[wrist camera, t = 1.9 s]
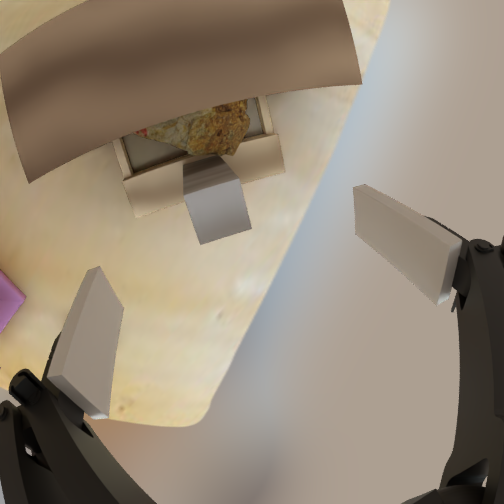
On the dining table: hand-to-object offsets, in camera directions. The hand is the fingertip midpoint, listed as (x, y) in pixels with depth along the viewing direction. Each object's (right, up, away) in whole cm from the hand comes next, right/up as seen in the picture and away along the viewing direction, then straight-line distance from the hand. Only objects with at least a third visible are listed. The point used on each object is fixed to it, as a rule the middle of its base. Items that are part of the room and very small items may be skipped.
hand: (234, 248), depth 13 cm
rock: (-6, +15, +11) cm, 19 cm away
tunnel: (-7, +17, +9) cm, 20 cm away
